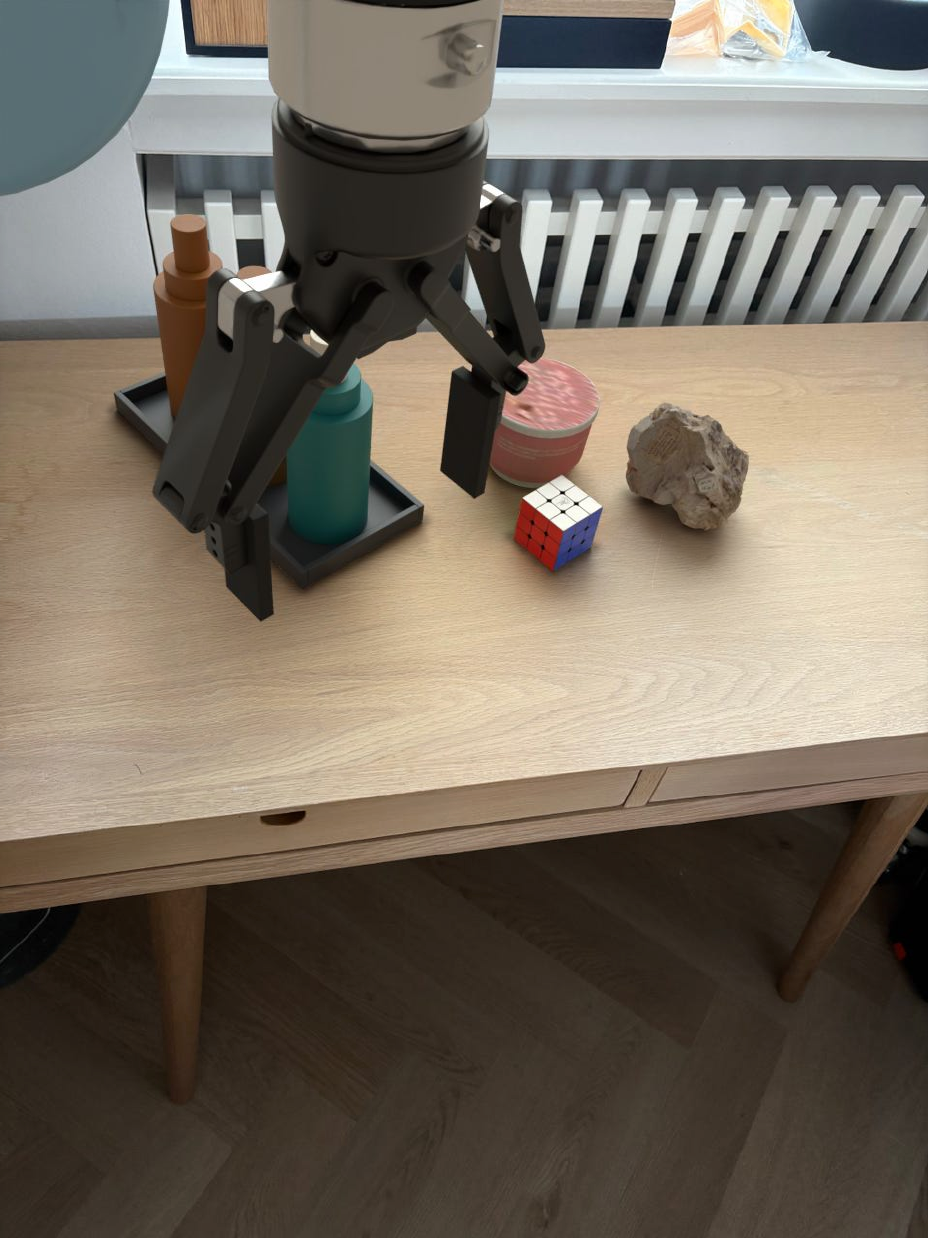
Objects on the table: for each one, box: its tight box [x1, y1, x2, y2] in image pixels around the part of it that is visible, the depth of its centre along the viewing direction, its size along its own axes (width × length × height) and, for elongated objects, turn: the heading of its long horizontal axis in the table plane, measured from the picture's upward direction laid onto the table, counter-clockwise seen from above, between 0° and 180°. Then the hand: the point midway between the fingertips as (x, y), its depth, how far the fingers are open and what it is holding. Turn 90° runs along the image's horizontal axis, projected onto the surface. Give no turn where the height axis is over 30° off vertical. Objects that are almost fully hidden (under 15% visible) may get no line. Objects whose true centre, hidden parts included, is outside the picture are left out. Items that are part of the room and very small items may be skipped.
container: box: [489, 357, 601, 489], centre depth 94 cm, size 10×10×8 cm
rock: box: [625, 402, 750, 531], centre depth 92 cm, size 9×12×10 cm
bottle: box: [286, 329, 374, 544], centre depth 82 cm, size 7×7×19 cm
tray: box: [113, 371, 425, 591], centre depth 92 cm, size 13×28×2 cm, turn 43°
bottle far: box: [152, 213, 224, 420], centre depth 89 cm, size 7×7×19 cm
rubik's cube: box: [513, 475, 604, 572], centre depth 88 cm, size 5×5×5 cm
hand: (363, 538), depth 51 cm, fingers open, 13 cm apart
